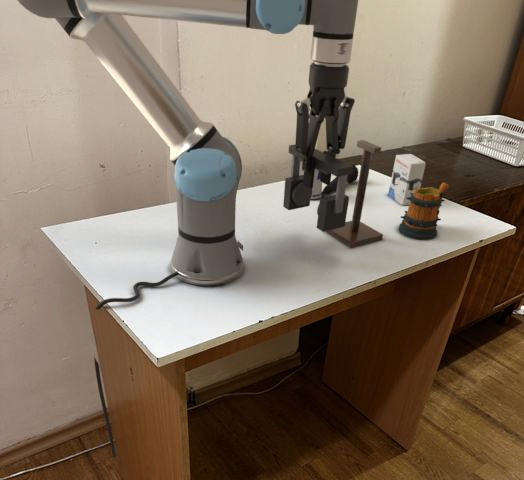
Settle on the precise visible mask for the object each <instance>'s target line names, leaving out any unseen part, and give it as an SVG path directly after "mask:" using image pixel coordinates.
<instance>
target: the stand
mask: <svg viewBox="0 0 524 480" xmlns="http://www.w3.org/2000/svg"><path fill="white" fill-rule="evenodd" d="M356 147H357V148H359V149H362V150H363V152H362V157H361V162H360V163H361V164H360V170H359V174H358V182H357V188H356V193H355V200H354V206H353V213H352V217H351V220H348V221H345V227H341V228H337V229H333V230H329V231H325V233H326V234H329V235H330V236H331V237H334V238H335V239H336V240H338V241H340V242H341V243H343V244H344V245H345V246H347V247H349V248H355V247H359V246H363V245H368V244H370V243H373V242H374V243H375V242H378V241H382V240H383V237H384V234H383V233H382V232H379V231H378V230H376V229H375V228H372V227H370V226H369V225H367V224H366V223H364V222H362V221H361V219H362V213H363V207H364V203H365V202H364V201H365V196H366V190H367V185H368V180H369V175H370V168H371V164H372V163H371V162H372V157H373V154H374V155H377V154H381V152H382V146H379V145H376V144H374V143H371V142H369V141H366V140H364V139H363V140H357V141H356Z"/></svg>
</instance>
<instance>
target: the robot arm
mask: <svg viewBox="0 0 524 480" xmlns="http://www.w3.org/2000/svg"><path fill="white" fill-rule="evenodd" d="M17 2H18V3H19V4H20V5H21V7H23V8H24V9H25V10H27V11H29V12H30V13H31V14H32V15H35V16H37V17H41V18H44V19H55V20H56V22H57V24H59V26H60V27H61V28H62V30H63V31H64V32H65V33H66V34H67V35H68V36H69V38H71V40H78V41H82V42H83V43H85V44H86V46H87V47H88V48H89V49H90V51H91V52H92V53H93V54H94V56H95V57H96V58H97V59H98V61H99V62H100V63H101V65H102V66H103V67H104V68H105V69H106V70H107V72H108V73H109V74H110V76H111V77H112V78H113V79H114V80H115V82H116V83H117V84H118V85H119V87H120V88H121V89H122V90H123V92H124V93H125V94H126V95H127V97H128V98H129V99H130V101H131V102H132V103H133V104H134V105H135V107H136V108H137V109H138V111H139V112H140V113H141V114H142V115H143V117H144V118H145V119H146V120H147V122H148V123H149V124H150V126H151V127H152V128H153V129H154V130H155V132H156V133H157V134H158V135H159V137H160V138H161V139H162V140H163V141H164V142H165V144H166V145H167V147H169V160H170V162H171V163H172V164H173V165H174V173H173V177H174V184H175V193H176V194H175V196H176V197H175V199H176V215H177V232H178V233H177V239H176V242H175V246H174V248H173V252H172V256H171V260H170V263H171V264H170V265H171V272H172V273H171V274H169V275H167V276H166V277H164V278H163V279H161V280H160V281H157V282H149V281H138V282H136V283H134V284H133V287H132V288H133V291H134V296H131V297H125V298H124V297H109V298H106V299H103V300H102V301H100V302H99V303H98V304H97V305H96V307H95V308H94V309H95V310H100V309H101V308H102V307H104V306H105V305H107V304H110V303H131V302H134V301H137V300H138V299H139V298H140V292H139V289H138V288H139V287H141V286H144V287H159V286H162V285H164V284H165V283H167V282H169V281H170V280H172V279H173V278H177V279H179V280H180V281H182V282H183V283H184V282H185V283H187V284H190V285H194V286H203V287H210V286H211V287H212V286H213V287H214V286H221V285H224V284H228V283H230V282H233V281H235V280H236V279H238V278H239V277H241V275H242V273H243V270H244V259H243V256H242V252H244V245H243V244H242V243H241V242H240V241H239V240H237V236H236V206H237V203H236V202H237V193H238V189H239V184H240V180H241V178H242V172H243V163H242V157H241V154H240V152H239V150H238V148H237V147H236V145H235V144H234V143H233V142H232V141H231V140H230V139H228V138H227V137H225V136H222V134H221V133H220V132H219V131H218V129H217V127H216V126H215V125H214V124H213V123H212V122H209V121H204V120H201V118H200V117H199V115H197V113H196V112H195V110H194V109H193V108H192V107H191V105H190V104H189V103H188V101H187V100H186V98H185V97H184V95H182V93H181V92H180V91H179V89H178V88H177V86H176V85H175V83H174V82H173V81H172V80H171V78H170V76H169V75H167V73H166V72H165V70H164V69H163V68H162V67H161V65H160V64H159V62H158V61H157V60H156V58H155V57H154V56H153V54H152V53H151V52H150V50H149V49H148V48H147V46H146V45H145V43H144V42H143V41H142V40H141V38H140V37H139V36H138V34H137V33H136V31H135V30H134V29H133V27H132V26H131V25H130V23H129V22H128V21H127V19H126V18H125V17H124V16H129V17H139V18H148V19H159V20H167V21H178V22H188V23H196V24H197V23H198V24H205V25H206V24H208V25H217V26H224V27H225V26H226V27H236V28H244V29H253V30H260V31H267V32H269V33H270V34H273V35H274V34H275V35H286V34H289V33H290V32H292V31H293V30H294V29H295V28H297V27H298V25H300V26H301V25H302V26H303V25H304V26H313V29H312V30H313V31H312V38H311V49H310V58H309V59H310V60H311V61H312V62H311V64H310V65H309V70H308V71H309V73H308V85H309V90H308V93H307V95H306V98H304V99H303V100H296V101H295V103H294V107H295V111H296V123H295V124H296V126H295V127H296V129H295V144H294V145H295V151H296V152H298V153H300V154H302V155H303V161H302V162H301V171H302V172H303V171H304V176H303V185H305V186H307V187H308V188H313V182H314V173H315V163H316V157H315V156H313V154H314V150H315V149H316V146H317V143H318V138H319V134H320V130H321V126H322V123H324V121H325V138H326V139H325V140H326V150H323V151H322V152H323V153H326V154H328V155H330V156H332V157H334V158H336V159H337V155H339V154H341V150H344V149H345V148H346V142H347V137H348V130H349V125H350V118H351V113H352V110H353V108H354V105H355V99H354V98H352V97H349V96H346V93H345V88H347V86H348V81H349V80H348V79H349V72H350V67H349V65H348V64H349V63H350V62H351V57H352V51H353V49H352V48H353V43H354V42H353V41H354V33H355V26H356V19H357V12H358V5H359V0H17ZM331 181H332V174H325V173H323V172H321V176H320V182H322V184H325V186H327V185H330V182H331ZM241 251H242V252H241ZM93 361H94V370H95V376H96V383H97V389H98V393H99V394H98V395H99V398H100V403H101V407H102V412H103V416H104V421H105V426H106V429H107V434H108V439H109V444H110V450H111V455H112V458H116V457H117V454H116V447H115V442H114V437H113V433H112V432H113V431H112V427H111V423H110V418H109V414H108V409H107V405H106V399H105V395H104V390H103V383H102V378H101V370H100V364H99V363H98V361H97V359H96V357H95V356H94V357H93Z"/></svg>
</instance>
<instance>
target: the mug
mask: <svg viewBox="0 0 524 480" xmlns="http://www.w3.org/2000/svg"><path fill="white" fill-rule="evenodd" d="M449 187H450V185H449V184H448V183H446V182H442V183H441V184H440V185H439V188H435V187H433V186H429V187H420V188H418V189H417V188H416V189H415V191H414V193H410V194H411V197H407V198H406V199H408V200H410V201H411V203H410V205H408V209H407V210H404V214H403V215H400V218H401V219H402V220H401V223H399V226H398V230H397V231H398V232H399V234H401V235H402V236H403V237H407V238H410V239H412V240H419V241H429V240H433V239H435V238H436V237H437V235H438V234H437V233H438V229H437V227H438V222H439V221H441V220H442V218H439V214H440V208H441V207H442V206H443V205H442V202H445V199H443V198H444V197H445V194H446V190H448V188H449Z"/></svg>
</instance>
